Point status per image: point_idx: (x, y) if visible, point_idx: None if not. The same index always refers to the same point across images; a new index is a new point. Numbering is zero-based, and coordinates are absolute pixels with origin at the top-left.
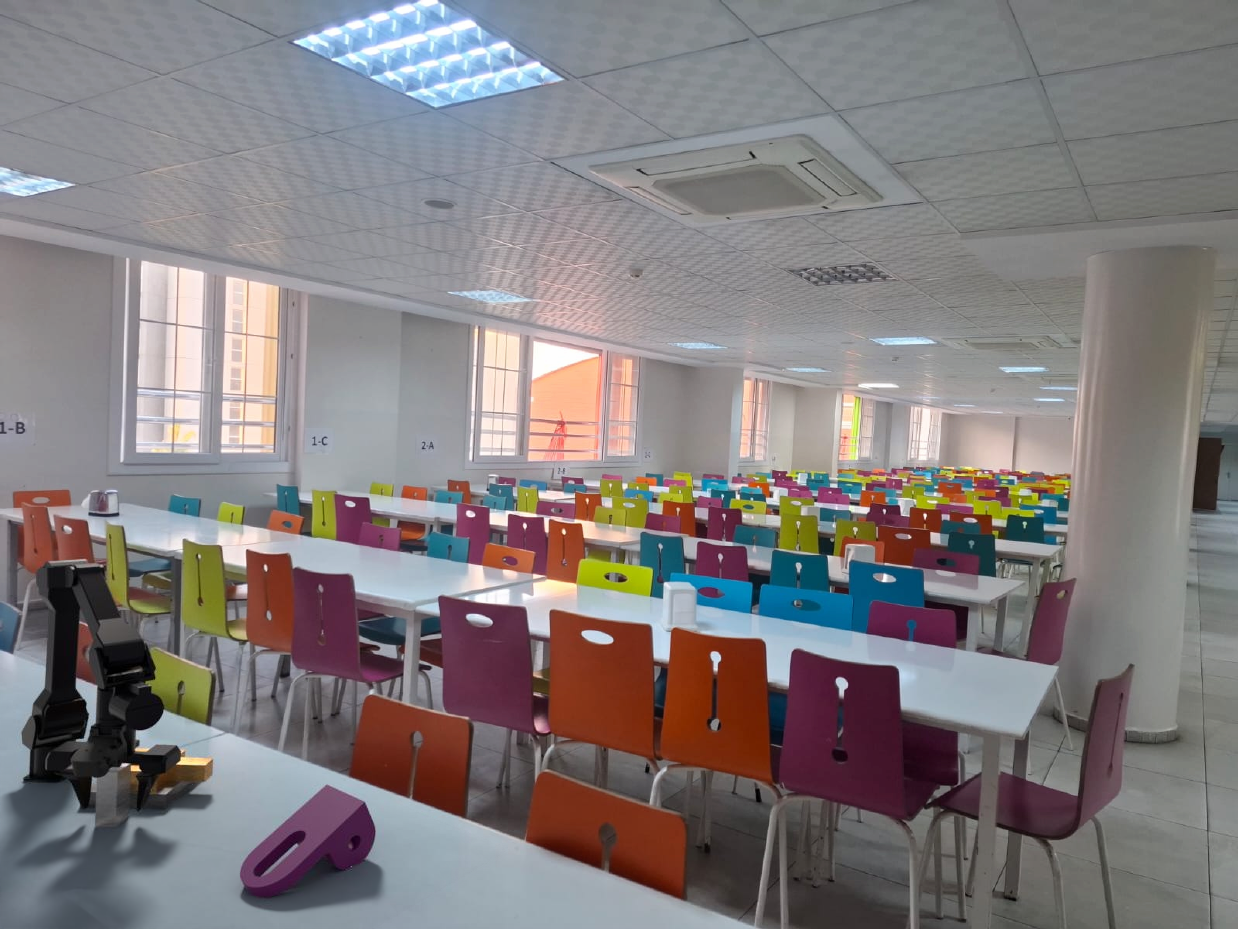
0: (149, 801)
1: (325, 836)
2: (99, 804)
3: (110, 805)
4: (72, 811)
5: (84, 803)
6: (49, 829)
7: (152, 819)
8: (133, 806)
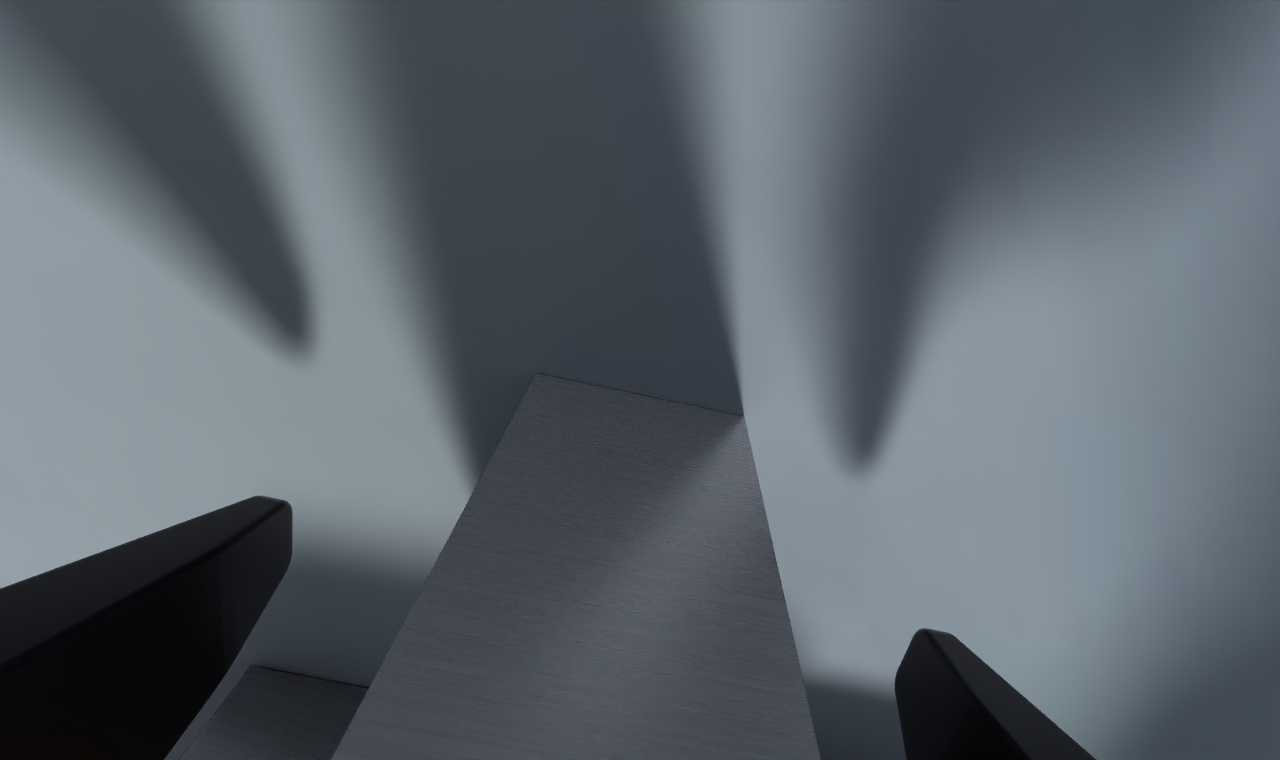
0: None
1: None
2: (722, 563)
3: (554, 524)
4: None
5: (951, 684)
6: (1181, 432)
7: None
8: None
